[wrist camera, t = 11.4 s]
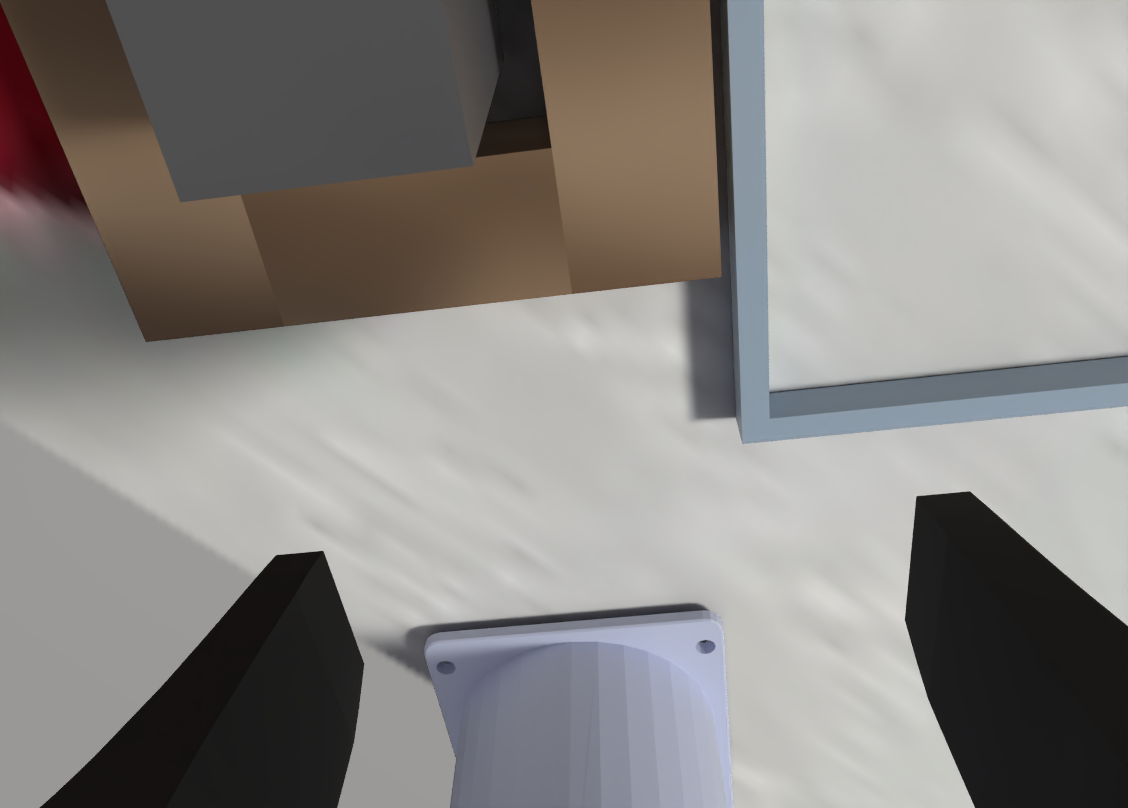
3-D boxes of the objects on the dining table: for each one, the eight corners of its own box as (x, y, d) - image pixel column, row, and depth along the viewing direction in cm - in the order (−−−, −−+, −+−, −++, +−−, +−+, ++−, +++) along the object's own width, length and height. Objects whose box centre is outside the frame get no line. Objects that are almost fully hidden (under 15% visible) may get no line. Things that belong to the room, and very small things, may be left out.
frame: (1306, 361, 20) (1337, 385, 20) (736, 418, 21) (742, 443, 21) (1557, -360, 14) (1621, -370, 13) (711, -227, 15) (719, -229, 14)
